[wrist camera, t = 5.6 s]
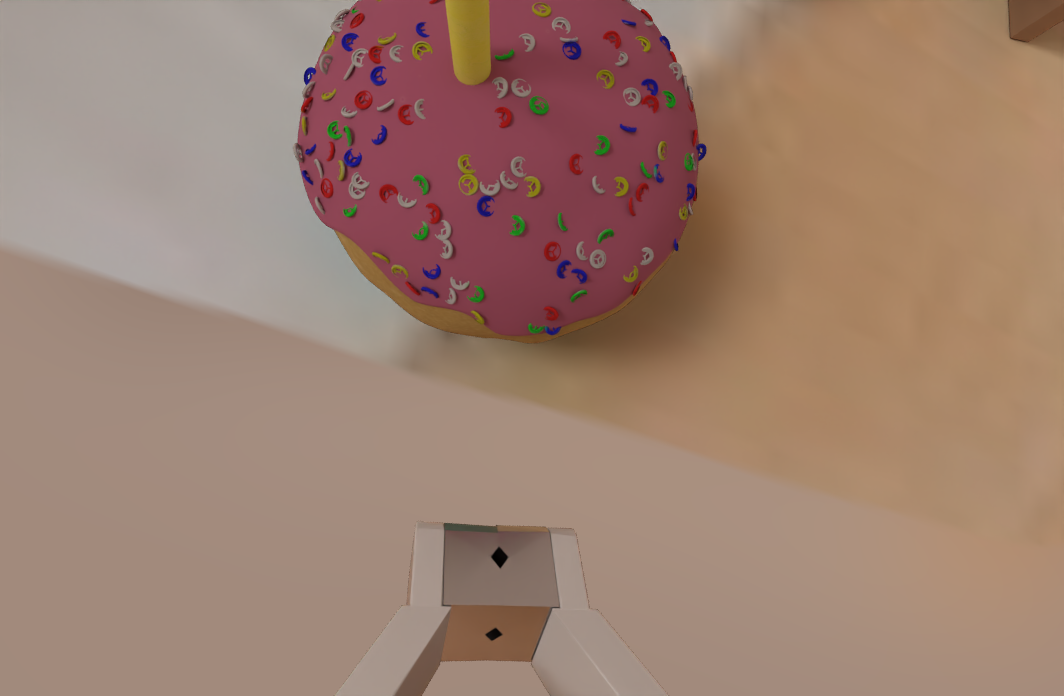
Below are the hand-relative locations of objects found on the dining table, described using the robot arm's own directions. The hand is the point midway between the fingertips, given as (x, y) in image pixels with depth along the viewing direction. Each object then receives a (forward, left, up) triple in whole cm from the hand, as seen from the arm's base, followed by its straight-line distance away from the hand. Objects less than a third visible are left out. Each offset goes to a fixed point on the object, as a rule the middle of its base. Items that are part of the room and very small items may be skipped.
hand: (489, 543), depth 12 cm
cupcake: (+7, +5, -5) cm, 10 cm away
